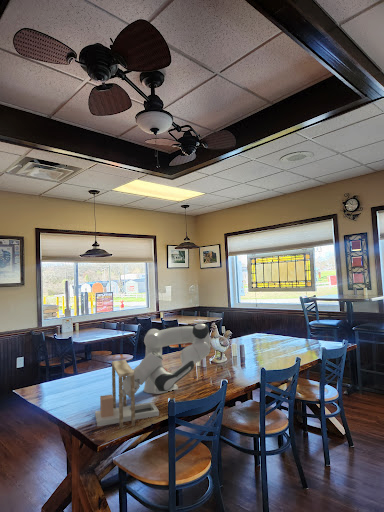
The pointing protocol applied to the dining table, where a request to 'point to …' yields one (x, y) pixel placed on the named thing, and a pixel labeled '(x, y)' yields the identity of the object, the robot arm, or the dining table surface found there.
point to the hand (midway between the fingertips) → (119, 397)
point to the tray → (128, 414)
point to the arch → (122, 371)
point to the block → (106, 405)
